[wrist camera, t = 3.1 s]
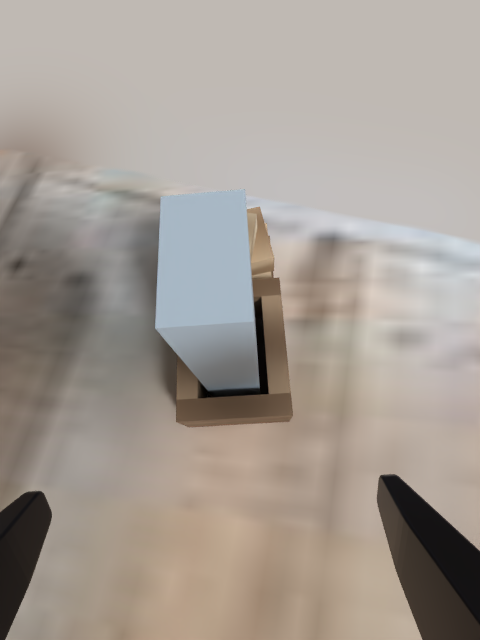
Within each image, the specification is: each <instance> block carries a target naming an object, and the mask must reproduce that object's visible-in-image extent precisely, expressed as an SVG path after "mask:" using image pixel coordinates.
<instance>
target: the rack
mask: <svg viewBox="0 0 480 640" xmlns="http://www.w3.org/2000/svg"><path fill="white" fill-rule="evenodd" d="M268 238H269V241H270V236H268ZM271 276H272V278H269V279H255V280H252V286H253V298H254V311H255V318H261V317H262V322H263V335H264V349H265V362H266V375H267V388H268V394H263V395H246V396H229V397H213V398H207V389H206V388H205V387H204V386H203V384H202V383H201V382H200V381H199V380H198V378H197V377H196V376H195V375H194V374H193V372H192V371H191V370H190V369H189V368H188V367H187V365H186V364H185V363H184V362H183V361H182V359H181V358H180V357H179V356H178V355H177V395H176V422H178V423H180V424H183V425H185V426H187V427H201V426H219V425H236V424H254V423H272V422H289V421H290V419H291V418H292V416H293V411H292V401H291V391H290V381H289V371H288V361H287V351H286V341H285V331H284V321H283V311H282V301H281V291H280V280H279V278H274V277H273V271H271Z"/></svg>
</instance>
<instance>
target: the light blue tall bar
mask: <svg viewBox="0 0 480 640" xmlns="http://www.w3.org/2000/svg"><path fill="white" fill-rule="evenodd" d="M155 329H156V330H157V331H158V332H159V333H160V335H161V336H162V337H163V338H164V339H165V341H166V342H167V343H168V344H169V345H170V346H171V348H172V349H173V350H174V351H175V352H176V354H177V355H178V356H179V357H180V358H181V359H182V361H183V362H184V363H185V364H186V365H187V367H188V368H189V369H190V370H191V371H192V372H193V374H194V375H195V376H196V377H197V378H198V380H199V381H200V382H201V383H202V384H203V386H204V387H205V388H206V389H207V390H208V391H209V393H210V394H211V395H212V396H213V397H229V396H246V395H260V383H259V368H258V353H257V339H256V324H255V311H254V298H253V286H252V273H251V260H250V247H249V234H248V221H247V209H246V196H245V189H243V190H232V191H231V190H230V191H219V192H207V193H195V194H184V195H172V196H161V204H160V227H159V250H158V274H157V297H156V320H155Z"/></svg>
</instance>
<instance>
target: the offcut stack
mask: <svg viewBox="0 0 480 640" xmlns="http://www.w3.org/2000/svg"><path fill="white" fill-rule="evenodd" d="M247 221H248V234H249V247H250V260H251V273H252V280H255V279H269V278H272V276H271V271H274V255H273V252H272V248H271V245H270V241H269V238H268V232H267V223H264V220H263V217H262V213H261V209H260V207H256V208H251V209H247Z"/></svg>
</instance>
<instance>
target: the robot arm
mask: <svg viewBox="0 0 480 640" xmlns="http://www.w3.org/2000/svg"><path fill="white" fill-rule="evenodd" d="M377 503H378V508H379V512H380V515H381V519H382V522H383V526H384V530H385V533H386V537H387V540H388V544H389V548H390V551H391V555H392V558H393V562H394V565H395V569H396V572H397V574H398V577H399V580H400V583H401V585H402V588H403V591H404V593H405V596H406V598H407V601H408V603H409V606H410V609H411V611H412V614H413V616H414V619H415V622H416V624H417V627H418V629H419V632H420V634H421V637H422V640H480V551H479V550H478V549H477V548H476V547H475V546H474V545H473V544H472V543H471V542H470V541H468V540H467V539H466V538H465V537H464V536H463V535H462V534H461V533H460V532H459V531H458V530H456V529H455V528H454V527H453V526H452V525H451V524H450V523H449V522H448V521H447V520H446V519H444V518H443V517H442V516H441V515H440V514H439V513H438V512H437V511H436V510H435V509H434V508H432V507H431V506H430V505H429V504H428V503H427V502H426V501H425V500H424V499H423V498H422V497H420V496H419V495H418V494H417V493H416V492H415V491H414V490H413V489H412V488H411V487H410V486H408V485H407V484H406V483H405V482H404V481H403V480H402V479H401V478H400V477H399V476H397V475H395V474H388V475H381V476H380V477H379V482H378V492H377ZM51 518H52V512H51V509H50V507H49V504H48V502H47V499H46V497H45V495H44V493H43V492H41V491H31V492H26V493H24V494H23V495H21V496H20V497H19V498H18V499H16V500H15V501H14V502H12V503H11V504H10V505H9V506H7V507H6V508H5V509H4V510H2V511H1V512H0V640H5V639H6V637H7V634H8V632H9V630H10V628H11V625H12V623H13V621H14V618H15V616H16V614H17V612H18V609H19V607H20V605H21V602H22V600H23V598H24V596H25V593H26V591H27V588H28V586H29V584H30V581H31V578H32V576H33V573H34V570H35V567H36V564H37V561H38V558H39V555H40V552H41V549H42V546H43V543H44V540H45V537H46V535H47V532H48V529H49V526H50V523H51Z"/></svg>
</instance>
